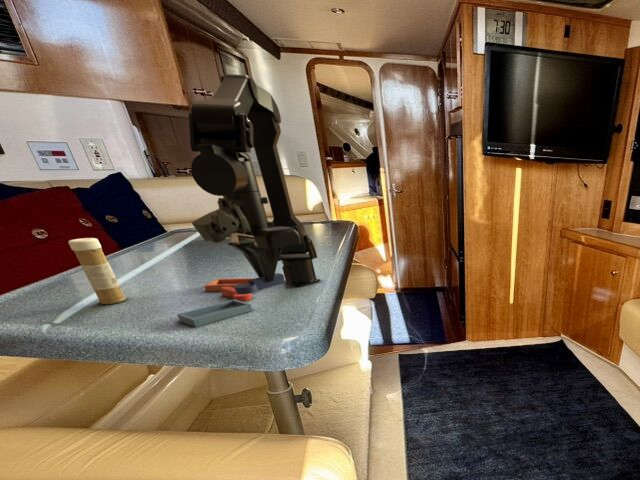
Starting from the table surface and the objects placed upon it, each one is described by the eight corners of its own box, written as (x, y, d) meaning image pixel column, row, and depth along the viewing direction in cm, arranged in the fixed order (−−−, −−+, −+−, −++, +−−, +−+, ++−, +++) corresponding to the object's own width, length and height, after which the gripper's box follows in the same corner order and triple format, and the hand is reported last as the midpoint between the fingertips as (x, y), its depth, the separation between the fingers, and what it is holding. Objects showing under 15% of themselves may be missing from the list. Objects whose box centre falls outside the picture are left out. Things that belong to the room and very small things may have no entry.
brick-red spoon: (218, 296, 94) (215, 288, 93) (233, 292, 96) (230, 285, 95) (240, 302, 90) (237, 294, 89) (255, 298, 92) (253, 290, 92)
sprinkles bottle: (110, 298, 91) (79, 237, 85) (131, 298, 92) (103, 237, 85) (94, 305, 87) (60, 241, 81) (117, 304, 88) (85, 241, 81)
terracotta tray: (269, 283, 103) (267, 277, 103) (258, 290, 98) (257, 284, 97) (219, 284, 102) (217, 278, 102) (206, 291, 97) (203, 285, 96)
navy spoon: (277, 281, 80) (275, 272, 79) (288, 283, 79) (286, 274, 78) (231, 292, 73) (228, 282, 72) (243, 295, 72) (239, 285, 71)
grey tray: (236, 305, 88) (234, 299, 87) (252, 310, 85) (250, 304, 85) (179, 320, 79) (176, 314, 79) (195, 326, 77) (193, 320, 76)
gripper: (160, 191, 67) (195, 283, 74) (222, 197, 59) (255, 299, 66) (228, 188, 75) (254, 271, 83) (291, 192, 67) (312, 284, 75)
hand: (267, 280), depth 76 cm, fingers closed on navy spoon, 2 cm apart
